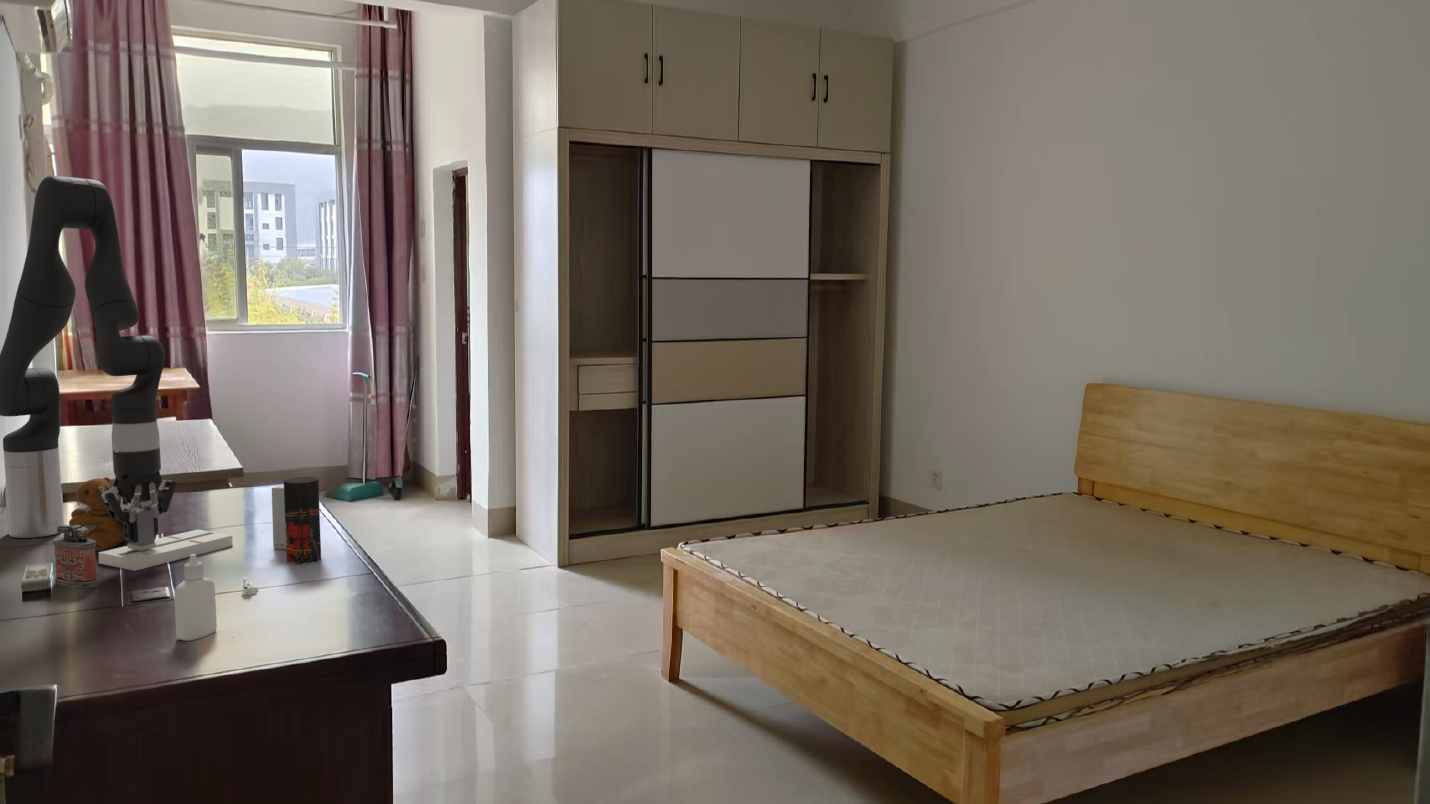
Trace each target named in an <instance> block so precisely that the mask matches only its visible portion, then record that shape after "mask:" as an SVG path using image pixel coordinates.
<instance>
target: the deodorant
mask: <svg viewBox="0 0 1430 804" xmlns="http://www.w3.org/2000/svg"><path fill="white" fill-rule="evenodd" d="M283 484H284V504H285V530H286V549H285V555H286V563H287V564H290V565H306V564H307V565H308V564H313V563H317V562H319V561H321V560H322V547H321V546H322V545H321V544H322V543H321V542H322V541H321V540H322V539H321V518H320V517H321V515H320V513H321V512H320V487H319V486H320V485H319V484H320V482H319V478H318V477H314V476H298V477H297V476H296V477H290V478H286V479H284V480H283Z"/></svg>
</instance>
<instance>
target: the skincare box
mask: <svg viewBox="0 0 1430 804" xmlns="http://www.w3.org/2000/svg"><path fill="white" fill-rule="evenodd" d="M271 507H272V511H271V512H272V513H271V514H272V545H273V546H272V547H273V549H275V550H276V549H277V550H286V530H285V504H284V483H282V484H279V485H277V486H274V487H272V488H271Z"/></svg>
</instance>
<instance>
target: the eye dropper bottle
mask: <svg viewBox="0 0 1430 804" xmlns="http://www.w3.org/2000/svg"><path fill="white" fill-rule="evenodd" d="M183 566H184V567H183V571H184V580H182V581H181V582H180V583H178V585H177V586H176V587H175V589H174V595H173V596H174V614H175V615H174V617H175V620H174V621H175V635H176V636H175V637H176V639H177V640H179V641H185V642H190V641H195V640H199V639H201V638H205V637H207V636H210V635H212V634H213V633H214V632H216V631H217V628H218V627H217V625H218V624H217V605H216V604H217V603H216V588H215V587H216V586H215V581H214V579H212V578H209V577H204V563H203V561H199V560H198V557H197V555H196V554H191V555H190V557H189V561H188V562H186V563H184V565H183Z"/></svg>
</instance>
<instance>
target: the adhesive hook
mask: <svg viewBox="0 0 1430 804" xmlns="http://www.w3.org/2000/svg"><path fill="white" fill-rule="evenodd" d="M246 579H247V578H246V576H244V577H243V585H242V589H243V590H242V594H241V597H246V596H247V595H255V594H257V593H258V592H259V589H258V587H257V585H255V586H252V584H253V583H252V581H251V579H250V578H248V580H247V581H246Z"/></svg>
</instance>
